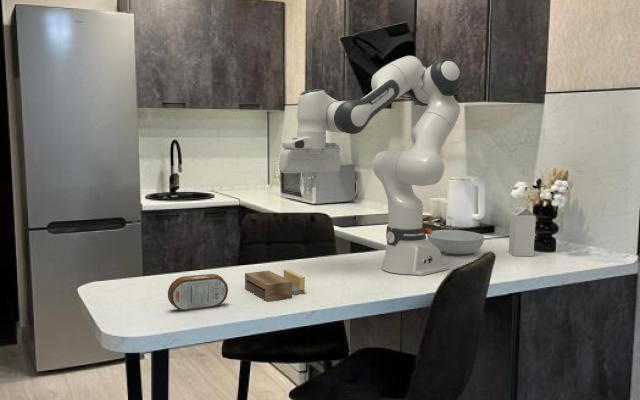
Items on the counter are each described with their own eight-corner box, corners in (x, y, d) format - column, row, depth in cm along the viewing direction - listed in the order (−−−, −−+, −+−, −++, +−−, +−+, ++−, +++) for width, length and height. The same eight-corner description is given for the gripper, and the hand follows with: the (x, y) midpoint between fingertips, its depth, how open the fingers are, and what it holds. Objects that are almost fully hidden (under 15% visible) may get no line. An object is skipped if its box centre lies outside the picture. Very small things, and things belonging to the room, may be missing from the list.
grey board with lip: (288, 286, 174) (288, 269, 174) (304, 294, 166) (304, 277, 165) (253, 290, 169) (253, 273, 168) (268, 299, 160) (268, 281, 160)
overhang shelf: (268, 285, 173) (268, 270, 173) (291, 298, 161) (292, 281, 161) (244, 288, 169) (244, 273, 169) (266, 301, 158) (266, 285, 157)
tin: (225, 303, 156) (225, 271, 155) (229, 306, 153) (229, 274, 152) (167, 310, 149) (167, 277, 148) (170, 314, 146) (170, 280, 145)
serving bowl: (415, 248, 231) (416, 231, 230) (460, 245, 239) (461, 228, 238) (447, 260, 212) (448, 241, 211) (495, 256, 220) (496, 237, 219)
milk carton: (527, 252, 227) (530, 203, 225) (533, 256, 220) (536, 205, 218) (508, 252, 228) (511, 202, 225) (514, 256, 220) (517, 205, 218)
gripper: (334, 142, 192) (333, 185, 194) (277, 142, 182) (276, 187, 184) (345, 143, 187) (343, 187, 189) (287, 142, 177) (286, 189, 178)
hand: (310, 187), depth 186 cm, fingers closed
